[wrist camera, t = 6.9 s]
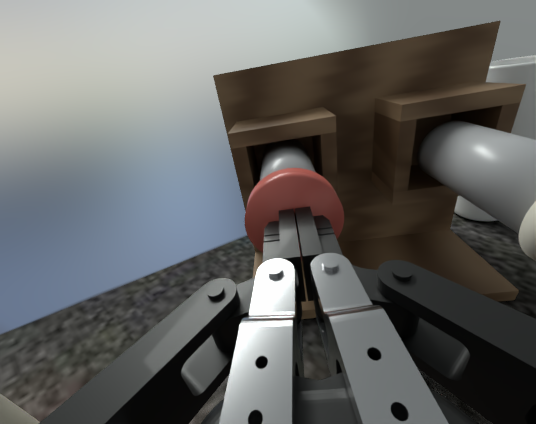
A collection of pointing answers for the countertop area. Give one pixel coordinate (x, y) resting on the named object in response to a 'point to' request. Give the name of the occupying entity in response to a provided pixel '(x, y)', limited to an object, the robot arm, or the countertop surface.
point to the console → (377, 141)
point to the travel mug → (14, 413)
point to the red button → (289, 190)
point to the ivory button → (487, 173)
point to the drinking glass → (527, 119)
